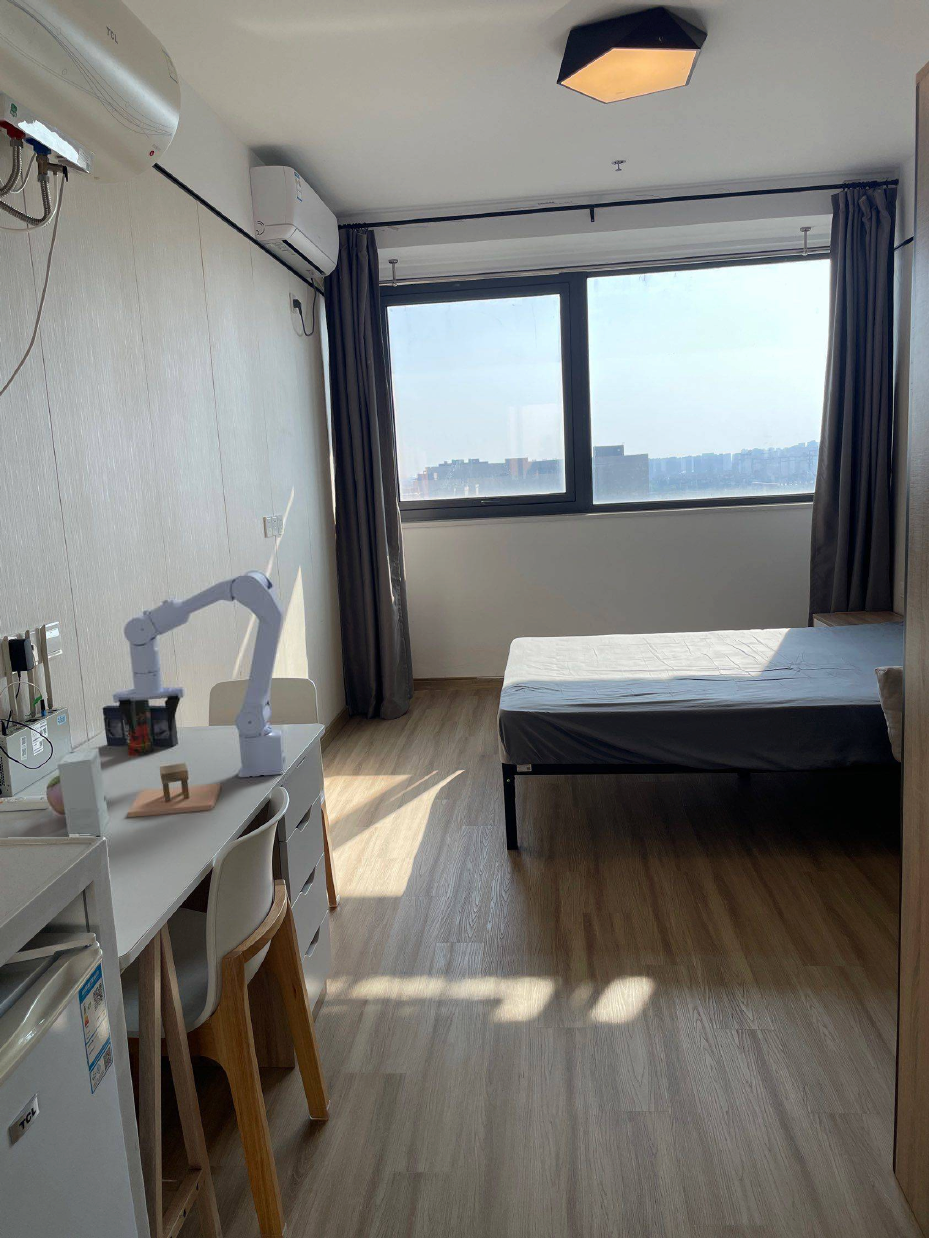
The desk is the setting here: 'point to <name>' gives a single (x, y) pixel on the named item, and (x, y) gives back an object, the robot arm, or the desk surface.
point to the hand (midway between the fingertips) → (153, 731)
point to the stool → (174, 779)
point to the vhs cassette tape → (158, 724)
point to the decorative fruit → (55, 795)
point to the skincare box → (83, 792)
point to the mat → (175, 800)
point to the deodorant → (140, 731)
